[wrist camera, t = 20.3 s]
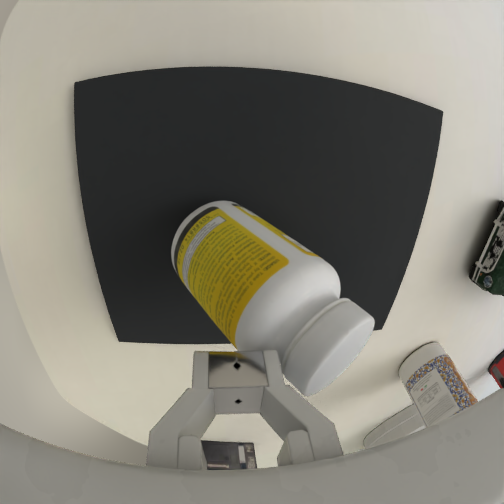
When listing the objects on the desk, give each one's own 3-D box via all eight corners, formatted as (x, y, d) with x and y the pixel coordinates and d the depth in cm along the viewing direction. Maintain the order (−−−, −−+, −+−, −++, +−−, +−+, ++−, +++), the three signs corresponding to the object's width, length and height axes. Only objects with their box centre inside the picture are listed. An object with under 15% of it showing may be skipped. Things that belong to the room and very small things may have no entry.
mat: (120, 336, 22) (118, 341, 21) (78, 82, 12) (74, 82, 11) (379, 325, 25) (381, 329, 24) (438, 110, 15) (443, 111, 14)
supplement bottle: (168, 291, 16) (273, 428, 9) (170, 202, 13) (318, 336, 7) (243, 272, 19) (354, 370, 13) (256, 195, 17) (403, 283, 10)
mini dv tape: (253, 442, 36) (258, 476, 31) (250, 446, 37) (255, 478, 31) (200, 440, 34) (201, 475, 29) (198, 443, 34) (200, 477, 29)
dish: (345, 442, 42) (352, 463, 38) (445, 378, 36) (457, 399, 32) (383, 447, 52) (389, 462, 47) (457, 399, 46) (466, 414, 41)
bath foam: (440, 355, 31) (501, 462, 14) (400, 382, 32) (453, 496, 15) (439, 332, 28) (515, 457, 10) (393, 362, 29) (458, 498, 12)
